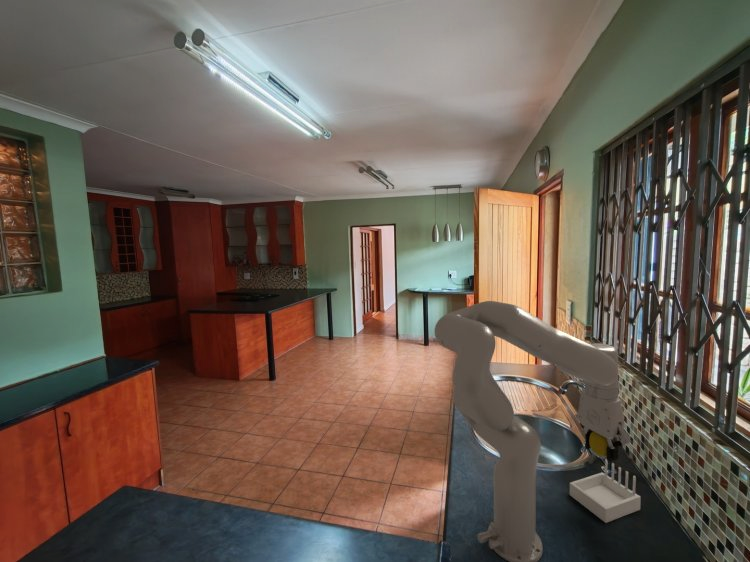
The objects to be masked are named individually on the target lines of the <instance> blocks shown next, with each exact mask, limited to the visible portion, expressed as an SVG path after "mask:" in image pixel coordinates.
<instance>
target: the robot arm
mask: <svg viewBox="0 0 750 562" xmlns="http://www.w3.org/2000/svg"><path fill="white" fill-rule="evenodd" d="M434 337H435V339H436V341H437V343H438V344H439V345H441V346H442V347H443V348H445V349H446V350H449V351H452V352H453V353H456V354H457V357H456V359H455V362H454V366H453V370H452V377H451V378H452V383H453V385H454V387H453V391H452V397H453V398H452V399H453V402H454V406H455V407H456V409H457V410H458V412H459V413H460V414H461V416H462V417H463V418H464V420H465V422H467V424H468V425H469V426H470V427H471V429H472V430H473V431H474V432H475V433H476V434H477V435H478V436H479V437H480V438H481V440H483V441H484V442H485V443H487V444H488V445H489V446H491V448H493V449H494V450H495V451H496V452H497V453H498V454H499V459H498V461H497V462H496V463H495V465H494V469H493V521H491V522H490V523H489V526H488V529H487V531H481V532H480V533H477V540H478V542H479V544H485V543H486V542H488V547H489V548H490V549H491V550H493V551H494V552H495V553H496V554H497V555H498V556H499V557H500V558H503V559H504V560H505V561H508V562H539V561H540V559H541V558H542V555H543V551H544V549H543V542H542V539H541V537H540V535H538V533H537V532H536V519H537V518H536V514H537V513H536V505H537V503H536V498H537V497H536V496H537V495H536V493H537V491H536V490H537V489H536V488H537V487H536V485H537V483H536V481H537V467H538V466H537V465H538V462H539V457H540V454H541V448H542V444H541V438H540V436H539V434H538V432H537V431H536V430H535V429H534V427H532V426H531V425H530V424H528V423H527V422H526V421H524V420H522V419H520V418H519V417H517V416H516V415H515V412H514V408H513V405H512V402H511V401H510V399H509V398H508V396H507V395H506V394H505V392H504V390H503V389H502V388H501V386H499V383H497V381H496V380H495V378H494V376H493V375H492V373H491V370H490V368H491V362H492V359H493V356H494V353H495V350H496V343H497V342H496V337H497V338H499V339H502V340H503V341H506V342H507V343H510V344H511V345H512V346H515V347H517V348H519V349H521V351H524V352H525V353H528V354H530V355H531V356H532V357H535V358H536V359H539V360H541V361H543V362H546V363H548V364H551V365H554V366H555V367H556V368H557V369H558V370H559V371H560V372H561V373H564V374H567V375H568V376H572V377H575V378H577V379H580V380H581V383H582V385H584V389H582V390H581V393H580V397H579V402H578V403H579V404H578V411H577V413H576V414H575V418H576V420H577V421H578V422H579V426H580V427H581V428H582V432H583V434H584V436H585V437H584V439H585V440H584V441H585V448H586V449H587V450H591V447H590V444H589V438H590V434H591V433H592V431H594V432H596V433H597V434H599V435H601V436H603V437H605V438H607V441H608V444H609V446H608V447H607V457H606V459H607V461H608V463H613V462H615V461H617V460H618V459H619V448H620V447H622V446H625V445H628V444H631V443H632V440H631V438H630V437H629V435H628V434H627V433H626V431H625V421H624V418H625V417H624V413H623V405H622V401H621V399H620V398H619V352H618V349H617V348H616V347H615V346H614V345H611V344H607V343H600V342H599V343H597V342H595V343H593V342H592V343H587V342H585V341H583V340H581V339H579V338H577V337H574V336H572V335H570V334H569V333H566V332H564V331H563V330H562V331H561V330H559V329H558V328H556V327H554V326H552V325H550V324H548V323H546V322H545V321H543V320H542V319H540V318H538V317H537V316H535V315H533V314H532V313H530V312H528V311H527V310H525V309H523V308H522V307H520V306H518V305H516V304H511V303H506V302H500V301H495V300H486V301H482V302H478V303H475V304H472V305H469V306H466V307H463V308H461V309H457V310H454V311H451V312H448V313H447V314H444V315H443V316H442V317H440V318H439V319H438V321H437V322H436V324H435V327H434Z"/></svg>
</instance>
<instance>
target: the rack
mask: <svg viewBox="0 0 750 562" xmlns="http://www.w3.org/2000/svg"><path fill="white" fill-rule="evenodd" d="M608 465H609V462H608V461H607V458H605V460H604V471H603V472H599V473H596V474H593V475H590V476H587V477H584V478H581V479H577V480H574V481H571V482H569V496H571V498H573V499H574V500H575V501H577V502H579V503H580V505H582V506H584V508H586V509H588V510H589V512H591V513H593V515H595V516H596V517H597V518H599V519H600V520H601V521H603V522H604V523H605V524H607V523H609V522H612V521H614V520H617V519H620V518H622V517H624V516H627V515H630V514H632V513H635V512H638V511H641V504H642V503H641V498H642V497H641V495H639V494H637V493H636V484H637V483H636V481H637V477H636V475H633V476H632V490H631V489H629V471H627V470H625V479H624V481H625V484H624V485H623V484H622V467H620V466H619V467H618V475H617V476H618V477H617V480H616V479H615V463H614V462H611V476H609V475H608V467H609V466H608Z"/></svg>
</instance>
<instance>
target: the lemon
mask: <svg viewBox="0 0 750 562" xmlns="http://www.w3.org/2000/svg"><path fill="white" fill-rule="evenodd" d="M589 444H590V447H591V448H590V450H591V451H592V452H593V453H594V454H595V455H597V456H599V457H600V458H604V457H606V458H607V447H608V446H609V444H608V441H607V438H605V437H603V436H601V435H599V434H597V433H596V432H594V431H592V433H591V434H590V438H589Z"/></svg>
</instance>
